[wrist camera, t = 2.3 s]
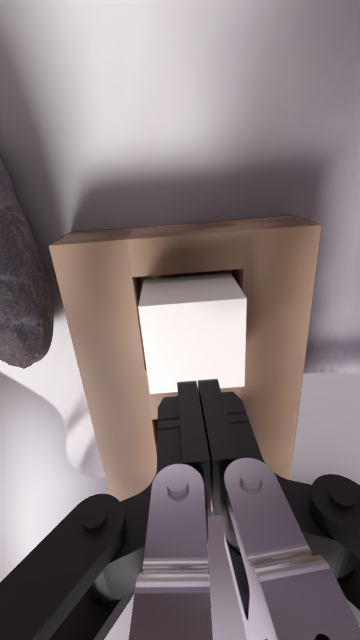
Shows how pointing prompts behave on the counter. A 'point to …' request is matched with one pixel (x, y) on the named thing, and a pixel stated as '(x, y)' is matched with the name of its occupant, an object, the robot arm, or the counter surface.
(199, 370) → the key white
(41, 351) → the perforated stone tool
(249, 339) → the frame
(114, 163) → the counter surface
